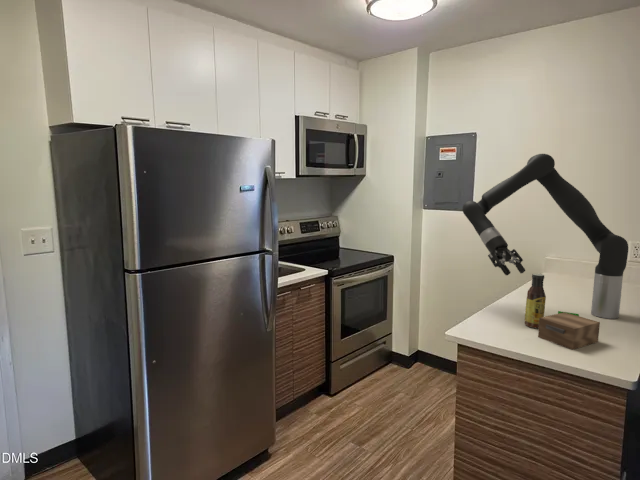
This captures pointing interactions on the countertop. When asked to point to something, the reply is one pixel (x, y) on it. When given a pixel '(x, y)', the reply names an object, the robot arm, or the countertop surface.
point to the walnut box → (568, 330)
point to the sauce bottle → (535, 302)
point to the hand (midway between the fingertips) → (516, 273)
